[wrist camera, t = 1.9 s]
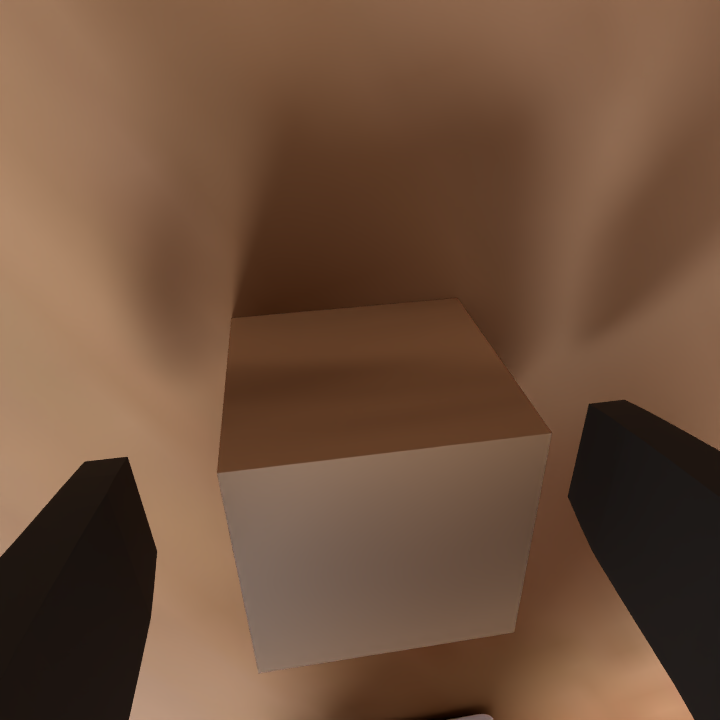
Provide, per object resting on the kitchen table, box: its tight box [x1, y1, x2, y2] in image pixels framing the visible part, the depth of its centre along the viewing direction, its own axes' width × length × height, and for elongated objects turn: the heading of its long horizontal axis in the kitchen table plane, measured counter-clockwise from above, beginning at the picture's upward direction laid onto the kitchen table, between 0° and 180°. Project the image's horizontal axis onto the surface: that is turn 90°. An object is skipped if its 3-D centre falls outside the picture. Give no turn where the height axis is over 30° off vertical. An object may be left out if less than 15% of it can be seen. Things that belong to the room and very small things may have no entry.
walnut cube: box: [217, 298, 552, 673], centre depth 9 cm, size 4×4×4 cm
